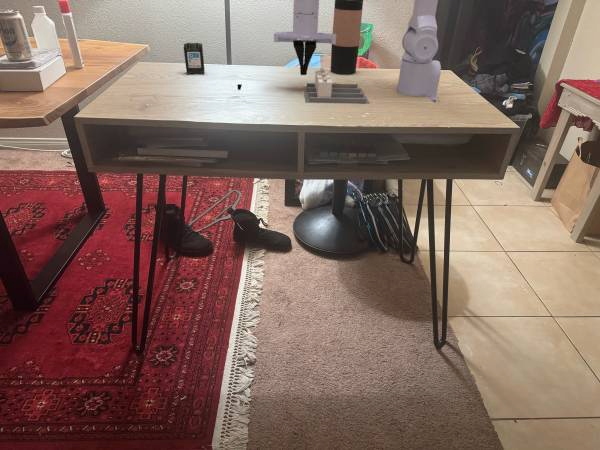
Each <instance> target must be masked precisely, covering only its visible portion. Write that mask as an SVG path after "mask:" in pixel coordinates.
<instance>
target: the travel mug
mask: <svg viewBox="0 0 600 450" xmlns="http://www.w3.org/2000/svg"><path fill="white" fill-rule="evenodd" d="M363 6H364V0H334V6H333V9H334V10H333V22H332V33H331V34H336V44H331V51H330V52H331V53H330V54H331V55H330V73H332V74H334V75H339V76H351V75H355V74H356V71H357V65H358V57H359V56H358V55H359V47H360V40H361V39H360V37H361V28H362V17H363V9H364V8H363Z"/></svg>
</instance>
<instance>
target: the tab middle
mask: <svg viewBox="0 0 600 450" xmlns="http://www.w3.org/2000/svg"><path fill="white" fill-rule="evenodd" d="M323 77H327V79H331V76H330V74H329V75H326V74H325V72H322V74H321V75H317V81H316V92H317V86H318V79H323Z"/></svg>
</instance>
